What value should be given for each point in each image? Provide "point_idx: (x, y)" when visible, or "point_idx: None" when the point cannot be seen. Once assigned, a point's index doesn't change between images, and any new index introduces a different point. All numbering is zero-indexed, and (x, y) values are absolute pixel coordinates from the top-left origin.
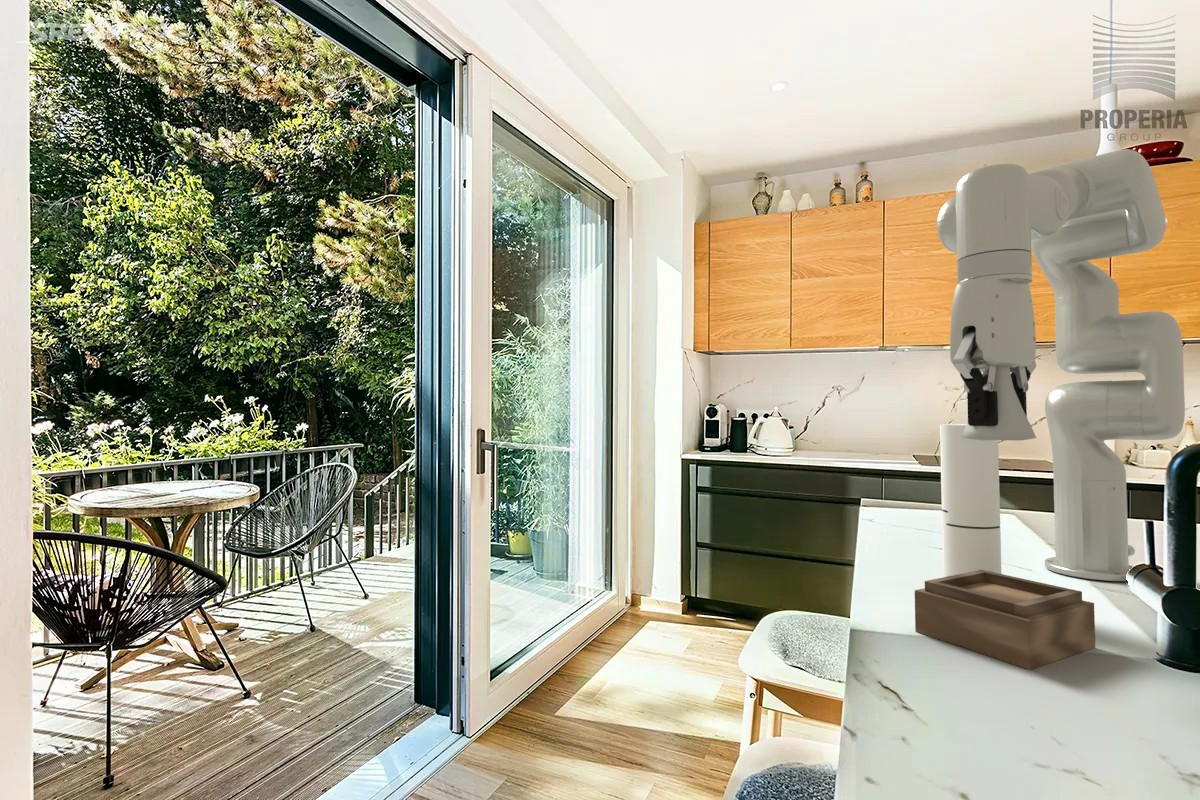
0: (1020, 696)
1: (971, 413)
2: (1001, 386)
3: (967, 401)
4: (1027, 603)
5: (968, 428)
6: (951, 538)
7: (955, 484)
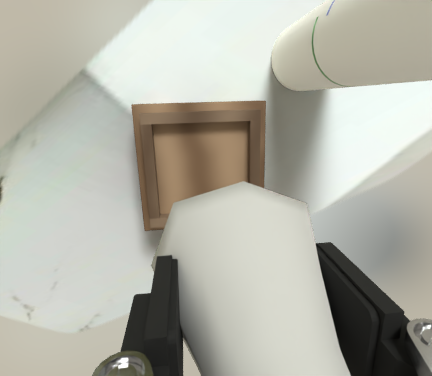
0: (94, 240)
1: (133, 302)
2: None
3: (150, 305)
4: (163, 223)
5: (175, 236)
6: (303, 35)
7: (355, 21)
